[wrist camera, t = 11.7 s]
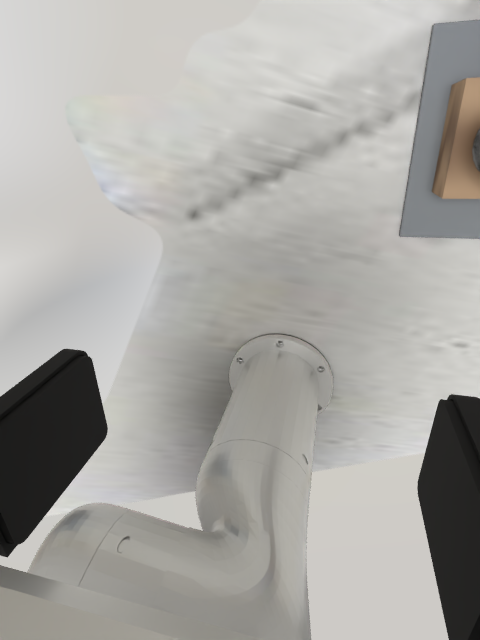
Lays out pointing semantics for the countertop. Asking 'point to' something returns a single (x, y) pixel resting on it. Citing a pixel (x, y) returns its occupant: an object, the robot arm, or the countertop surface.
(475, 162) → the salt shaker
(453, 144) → the base block
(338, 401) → the countertop surface
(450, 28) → the slate mat
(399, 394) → the countertop surface
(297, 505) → the robot arm
